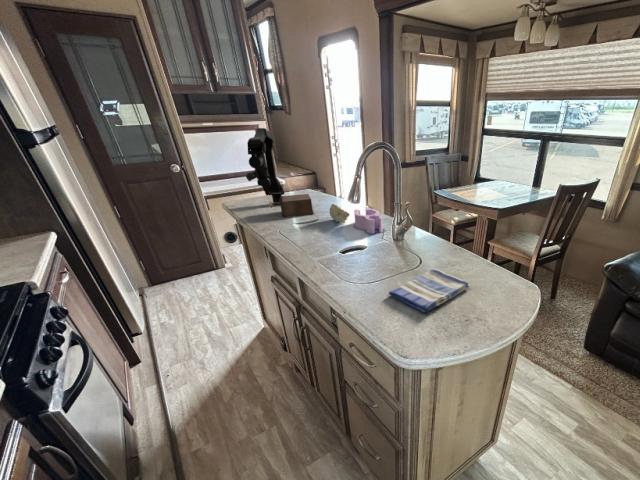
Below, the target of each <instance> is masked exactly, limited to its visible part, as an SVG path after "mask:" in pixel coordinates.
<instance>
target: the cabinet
mask: <svg viewBox="0 0 640 480" xmlns="http://www.w3.org/2000/svg"><path fill="white" fill-rule="evenodd" d="M281 199H282V204H283V209H284V214H285V215H284V218H291V217H299V216H309V215H314V209H313V203H312V198H311V196H310V193H303V194H292V195H282V196H281Z"/></svg>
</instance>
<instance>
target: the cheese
mask: <svg viewBox="0 0 640 480" xmlns="http://www.w3.org/2000/svg"><path fill="white" fill-rule="evenodd" d="M329 215H330V217H331V219H333V220H334V221H335V223H340V224H345V223H346V221H347V220H348V217H350V215H351V214H350V212H348V211H346V210H345V209H343V208H341V207H340V206H338V205H337V204H335V203H332V204H331V205H330V207H329Z"/></svg>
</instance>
